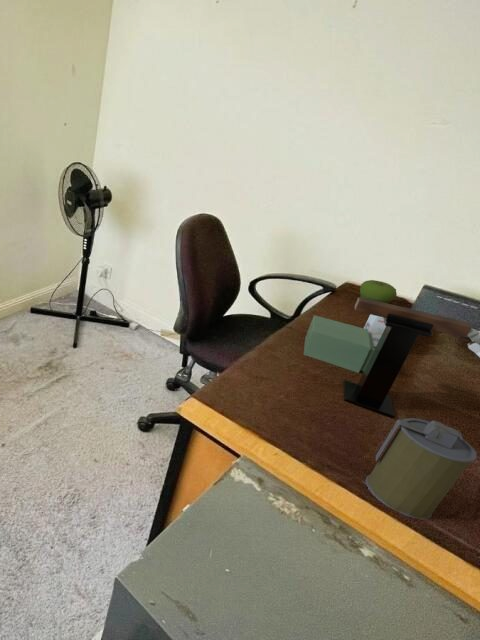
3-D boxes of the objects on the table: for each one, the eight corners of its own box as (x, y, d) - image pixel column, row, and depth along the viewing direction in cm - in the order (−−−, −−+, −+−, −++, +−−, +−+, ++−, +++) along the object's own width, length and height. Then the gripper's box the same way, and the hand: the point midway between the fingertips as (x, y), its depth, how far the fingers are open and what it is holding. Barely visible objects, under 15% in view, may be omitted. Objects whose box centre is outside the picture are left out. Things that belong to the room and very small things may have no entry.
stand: (389, 398, 115) (433, 314, 104) (393, 419, 108) (441, 331, 97) (342, 383, 121) (380, 302, 110) (343, 401, 114) (384, 317, 103)
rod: (462, 332, 99) (469, 322, 98) (465, 338, 97) (472, 327, 96) (354, 306, 111) (358, 296, 110) (354, 310, 109) (359, 300, 107)
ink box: (390, 347, 137) (406, 317, 133) (395, 354, 133) (412, 324, 129) (357, 338, 141) (372, 309, 136) (361, 346, 137) (376, 316, 133)
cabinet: (356, 354, 134) (368, 329, 130) (358, 373, 125) (370, 347, 121) (304, 338, 141) (314, 315, 138) (303, 356, 132) (312, 331, 129)
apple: (371, 310, 159) (383, 288, 155) (346, 297, 169) (356, 276, 165) (396, 310, 160) (408, 288, 156) (370, 296, 170) (381, 275, 166)
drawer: (380, 359, 130) (390, 339, 127) (383, 377, 122) (394, 356, 118) (313, 339, 139) (321, 320, 136) (312, 355, 131) (321, 335, 128)
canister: (429, 495, 88) (479, 427, 80) (435, 532, 81) (490, 461, 72) (362, 465, 94) (402, 399, 86) (362, 496, 87) (406, 428, 79)
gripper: (529, 350, 99) (470, 310, 103) (564, 397, 84) (494, 347, 89) (498, 363, 103) (442, 324, 107) (526, 410, 88) (460, 361, 93)
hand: (466, 334), depth 98 cm, fingers open, 8 cm apart
